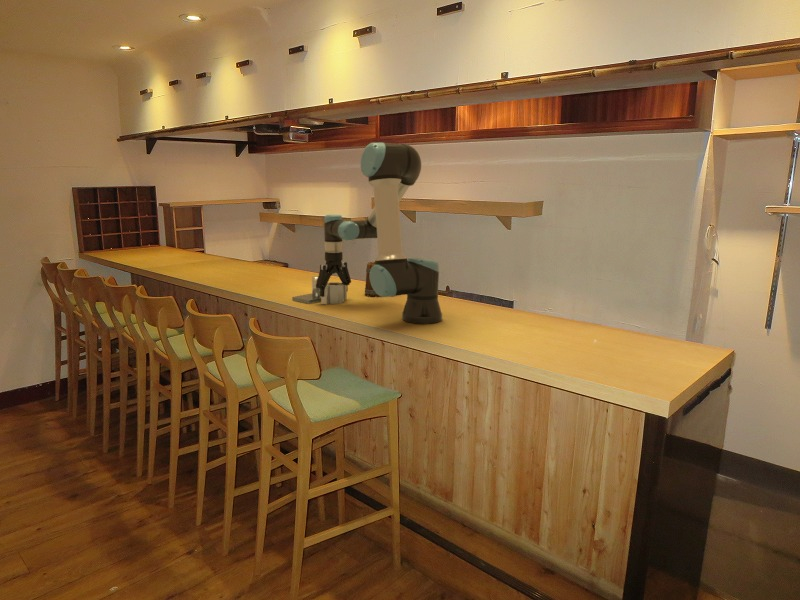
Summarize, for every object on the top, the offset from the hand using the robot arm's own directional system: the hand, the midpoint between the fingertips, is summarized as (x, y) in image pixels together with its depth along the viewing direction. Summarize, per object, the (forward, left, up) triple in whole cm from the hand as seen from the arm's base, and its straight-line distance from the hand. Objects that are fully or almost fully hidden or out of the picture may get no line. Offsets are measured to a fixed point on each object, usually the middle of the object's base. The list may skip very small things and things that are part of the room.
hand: (334, 301), depth 231 cm
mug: (-5, -25, 0) cm, 25 cm away
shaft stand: (+10, +1, 0) cm, 11 cm away
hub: (0, 0, 0) cm, 0 cm away
